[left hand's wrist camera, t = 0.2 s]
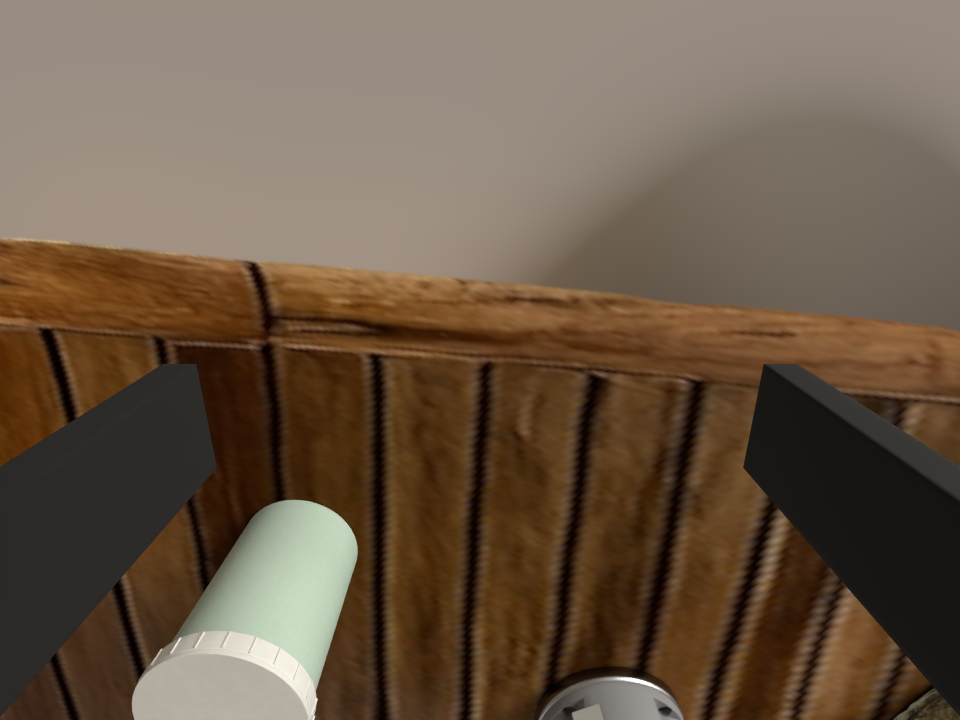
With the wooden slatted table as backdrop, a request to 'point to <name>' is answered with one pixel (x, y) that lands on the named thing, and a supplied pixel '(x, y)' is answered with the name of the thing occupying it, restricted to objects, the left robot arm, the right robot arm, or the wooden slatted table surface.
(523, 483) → the wooden slatted table surface
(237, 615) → the jar
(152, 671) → the lid
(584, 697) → the left robot arm
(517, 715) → the wooden slatted table surface
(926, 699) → the fossil
